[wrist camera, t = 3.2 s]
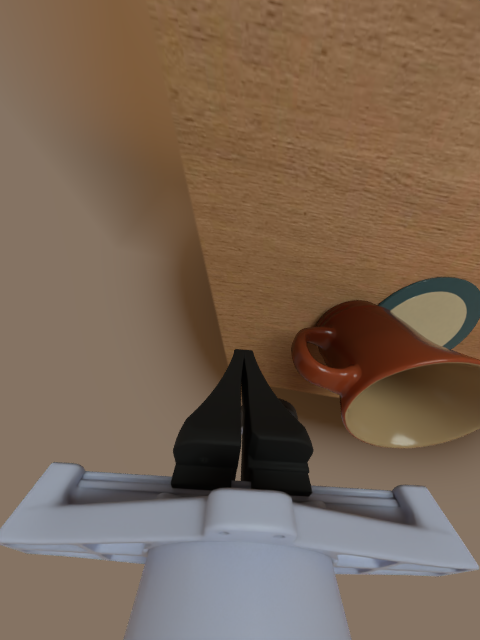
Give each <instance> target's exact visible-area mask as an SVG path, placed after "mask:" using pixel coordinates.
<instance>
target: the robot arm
mask: <svg viewBox="0 0 480 640" xmlns="http://www.w3.org/2000/svg"><path fill="white" fill-rule="evenodd" d="M241 387H242V388H241ZM241 389H242V404H243V426H242V427H241ZM241 434H242V463H241V481H235V477H236V471H237V467H238V461H239V455H240V449H241ZM173 454H174V458H175V462H176V466H175V469H174V473H173V476H172V477H168V476H153V475H138V474H121V473H105V472H90V471H85V469H84V468H83V466H81V465H79V464H74V463H60V462H54V463H52V464H51V465H50V466H49V467H48V468H47V470H46V471H45V472H44V474H43V475H42V476H41V477H40V479H39V480H38V482H37V483H36V484H35V485H34V486H33V488H32V489H31V490H30V491H29V493H28V494H27V495H26V497H25V498H24V499H23V501H22V502H21V503H20V504H19V505H18V507H17V508H16V509H15V511H14V512H13V513H12V515H11V516H10V517H9V518H8V520H7V521H6V522H5V523H4V525H3V526H2V527H1V529H0V545H2V546H6V547H8V548H12V549H15V550H18V551H21V552H24V553H27V554H42V555H56V556H69V557H79V558H90V559H99V560H109V561H119V562H129V563H139V564H145V566H144V570H143V573H142V577H141V580H140V584H139V588H138V591H137V594H136V598H135V601H134V605H133V608H132V612H131V615H130V619H129V622H128V626H127V629H126V633H125V636H124V640H351V636H350V632H349V628H348V624H347V620H346V616H345V612H344V608H343V604H342V600H341V596H340V592H339V588H338V585H337V580H336V576H335V574H381V575H382V574H383V575H385V574H386V575H420V576H443V575H450V574H456V573H462V572H467V571H473V570H479V566H478V564H477V563H476V561H475V560H474V558H473V557H472V555H471V554H470V552H469V551H468V549H467V548H466V546H465V545H464V543H463V542H462V540H461V539H460V537H459V536H458V534H457V533H456V531H455V530H454V528H453V527H452V525H451V524H450V522H449V521H448V519H447V518H446V516H445V515H444V513H443V512H442V510H441V509H440V507H439V506H438V504H437V503H436V501H435V500H434V498H433V497H432V495H431V494H430V492H429V491H428V489H427V488H426V487H425V486H419V485H399V486H397V487H395V488H394V489H393V491H389V490H373V489H358V488H341V487H326V486H311V484H310V480H309V476H308V473H309V467H308V463H307V462H308V460H309V459H310V457H311V455H312V454H313V447H312V443H311V440H310V438H309V435H308V433H307V431H306V429H305V427H304V426H303V425H302V424H301V423H300V422H299V421H298V420H297V419H296V418H295V417H294V416H293V415H292V414H291V413H290V412H289V411H288V410H287V409H286V408H285V406H284V405H283V404H282V403H281V402H280V400H279V399H278V398H277V397H276V395H275V394H274V393H273V391H272V390H271V388H270V386H269V385H268V383H267V382H266V380H265V378H264V376H263V375H262V373H261V371H260V369H259V366H258V364H257V362H256V359H255V357H254V354H253V351H252V350H240V349H235V350H234V354H233V357H232V360H231V362H230V364H229V366H228V368H227V370H226V372H225V374H224V376H223V377H222V379H221V380H220V382H219V383H218V385H217V386H216V388H215V389H214V390H213V391H212V393H211V394H210V395H209V396H208V398H207V399H206V400H205V401H204V402H203V403H202V404H201V405H200V406H199V407H198V409H196V410H195V411H194V412H193V413H192V414H191V415H190V416H189V417H188V418H187V419H186V421H185V422H184V424H183V426H182V428H181V430H180V432H179V434H178V437H177V439H176V442H175V445H174V448H173Z"/></svg>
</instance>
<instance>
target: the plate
mask: <svg viewBox="0 0 480 640" xmlns="http://www.w3.org/2000/svg"><path fill="white" fill-rule="evenodd" d="M378 306H381V307H384V308H386V309H388V310H390V311H391V312H392V313H394V314H395V315H396V316H397V317H399V318H400V319H402V320H403V321H404V322H406V323H407V324H408V325H410V326H411V327H412V328H414V329H415V330H416V331H417V332H419V333H420V334H421V335H423V336H424V337H425V338H427V339H428V340H430V341H432V342H434V343H436V344H438V345H440V346H442V347H445V348H448V349H450V350H451V349H452V348H454V347H455V346H456V345H458V344H459V343H460V342H461V341H462V340H463V339H465V338H466V337H467V335H468V334H469V333H470V332H471V331H472V330H473V328H474V327H475V326H476V324H477V322H478V320H479V318H480V291H479V289H478V288H477V287H476V286H475V285H473V284H472V283H470V282H468V281H466V280H463V279H459V278H455V277H437V278H430V279H426V280H422V281H419V282H416V283H413V284H411V285H408V286H406V287H404V288H402V289H400V290H398V291H397V292H395V293H393V294H392V295H390V296H389V297H387V298H386V299H385V300H384V301H382V302H381V303H380V304H379V305H378Z"/></svg>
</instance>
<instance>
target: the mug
mask: <svg viewBox="0 0 480 640" xmlns="http://www.w3.org/2000/svg"><path fill="white" fill-rule="evenodd" d="M307 343H312V344H315V345H317V346H318V349H319V352H320V354H321V355H322V357H323V359H324V361H325V363H326V365H327V366H325V365H323V364H321V363H319V362H318V361H316V360H315V359H314V358H313V357H312V355H311V354H310V352H309V350H308V347H307ZM291 353H292V359H293V363H294V365H295V367H296V369H297V371H298V372H299V373H300V375H301V376H303V377H304V378H305V379H306V380H308V381H309V382H311V383H313V384H315V385H317V386H319V387H322V388H325V389H328V390H330V391H331V392H333V393H337V394H339V396H340V405H341V415H342V420H343V423H344V426H345V427H346V429H347V431H348V432H349V433H350V434H352V436H354V437H355V438H357V439H359V440H361V441H363V442H365V443H368V444H371V445H374V446H379V447H385V448H418V447H426V446H432V445H437V444H441V443H445V442H449V441H452V440H455V439H458V438H461V437H463V436H466V435H468V434H470V433H472V432H475V431H477V430H478V429H480V360H479V359H476V358H473V357H470V356H467V355H464V354H461V353H458V352H456V351H453V350H450V349H448V348H445V347H442V346H440V345H438V344H436V343H434V342H432V341H430V340H428V339H427V338H425V337H424V336H423V335H421V334H420V333H419V332H417V331H416V330H415V329H414V328H412V327H411V326H410V325H408V324H407V323H406V322H404V321H403V320H402V319H400V318H399V317H397V316H396V315H395V314H394V313H392V312H391V311H390V310H388V309H386V308H384V307H381V306H378V305H376V304H373V303H371V302H368V301H362V300H354V301H348V302H344V303H341V304H339V305H337V306H335V307H333V308H331V309H330V310H328V311H327V312H326V313H325V314H324V315H323V316H322V318H321V319H320V320H319V322H318V324H317V327H310V328H304V329H302V330H300V331H299V332H298V333H297V335H296V336H295V338H294V340H293V343H292V347H291Z"/></svg>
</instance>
